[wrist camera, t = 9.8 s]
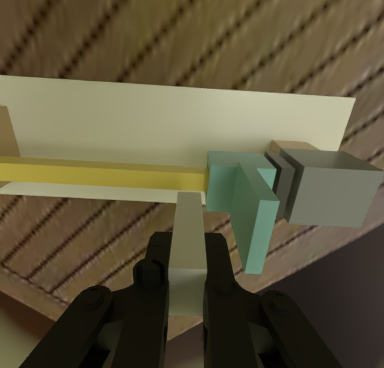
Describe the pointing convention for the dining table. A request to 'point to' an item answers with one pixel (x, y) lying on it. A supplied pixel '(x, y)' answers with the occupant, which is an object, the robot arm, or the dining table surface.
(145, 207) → the dining table surface
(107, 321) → the robot arm
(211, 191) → the sleeve
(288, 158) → the cord rig
